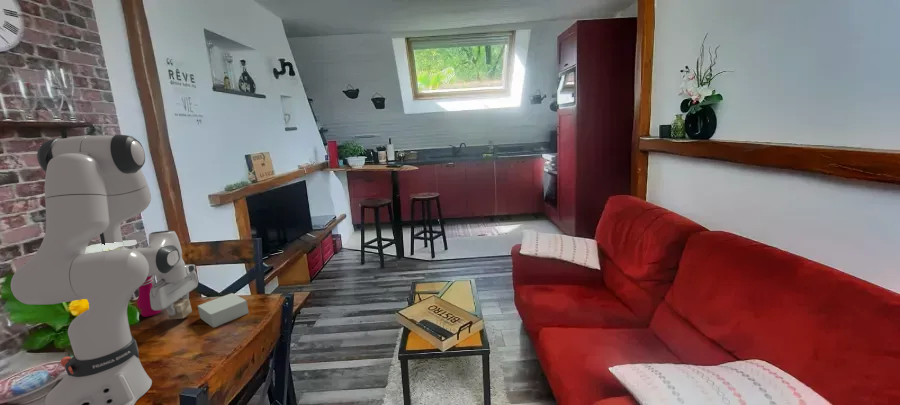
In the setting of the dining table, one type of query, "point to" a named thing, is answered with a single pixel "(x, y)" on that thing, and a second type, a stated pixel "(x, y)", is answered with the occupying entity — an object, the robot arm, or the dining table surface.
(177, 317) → the birch cube
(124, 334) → the robot arm
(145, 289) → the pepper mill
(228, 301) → the base block
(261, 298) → the dining table surface
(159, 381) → the dining table surface
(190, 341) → the dining table surface
